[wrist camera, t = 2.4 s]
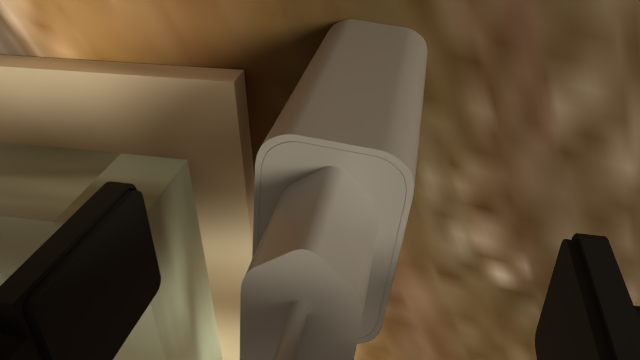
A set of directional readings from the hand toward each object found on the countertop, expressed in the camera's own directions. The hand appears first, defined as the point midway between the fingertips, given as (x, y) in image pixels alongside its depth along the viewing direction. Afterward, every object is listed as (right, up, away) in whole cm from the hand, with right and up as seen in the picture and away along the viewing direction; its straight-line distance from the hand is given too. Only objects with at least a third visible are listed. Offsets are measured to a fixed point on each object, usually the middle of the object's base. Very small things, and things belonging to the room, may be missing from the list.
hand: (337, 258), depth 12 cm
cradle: (-10, -1, +11) cm, 15 cm away
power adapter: (+1, +4, +5) cm, 7 cm away
